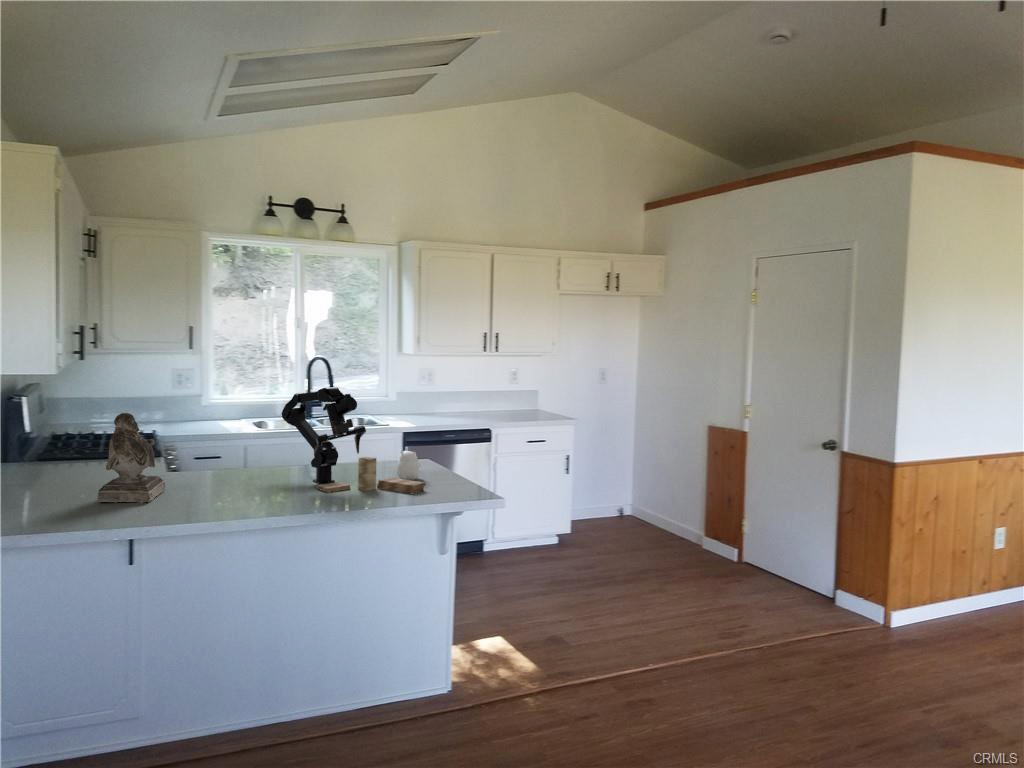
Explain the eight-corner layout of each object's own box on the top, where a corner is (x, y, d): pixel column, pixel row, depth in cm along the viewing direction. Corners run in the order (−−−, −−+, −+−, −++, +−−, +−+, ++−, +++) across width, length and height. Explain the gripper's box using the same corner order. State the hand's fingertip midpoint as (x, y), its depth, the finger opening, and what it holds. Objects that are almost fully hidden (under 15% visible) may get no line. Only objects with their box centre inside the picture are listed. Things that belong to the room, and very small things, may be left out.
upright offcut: (358, 489, 286) (358, 458, 285) (365, 487, 290) (366, 456, 289) (368, 490, 284) (368, 459, 283) (375, 488, 288) (376, 457, 287)
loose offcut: (317, 489, 284) (317, 485, 283) (340, 485, 291) (340, 481, 290) (326, 492, 279) (326, 488, 279) (349, 489, 286) (350, 484, 286)
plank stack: (376, 488, 288) (377, 480, 288) (388, 485, 295) (388, 477, 294) (413, 494, 280) (413, 485, 280) (424, 490, 287) (425, 482, 286)
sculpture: (149, 503, 255) (148, 416, 253) (96, 504, 252) (95, 416, 250) (165, 491, 273) (164, 410, 271) (116, 491, 271) (115, 409, 268)
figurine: (415, 483, 300) (416, 453, 299) (392, 481, 302) (393, 452, 301) (423, 478, 310) (423, 449, 309) (401, 476, 312) (401, 448, 311)
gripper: (314, 419, 280) (324, 459, 278) (362, 408, 287) (373, 447, 285) (312, 425, 290) (321, 463, 288) (359, 414, 297) (368, 451, 295)
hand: (346, 456), depth 289 cm, fingers open, 9 cm apart
